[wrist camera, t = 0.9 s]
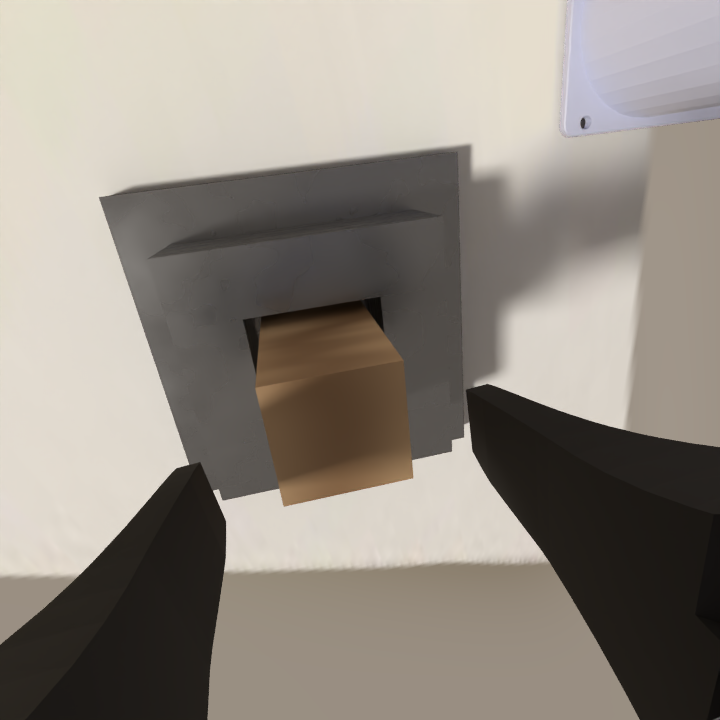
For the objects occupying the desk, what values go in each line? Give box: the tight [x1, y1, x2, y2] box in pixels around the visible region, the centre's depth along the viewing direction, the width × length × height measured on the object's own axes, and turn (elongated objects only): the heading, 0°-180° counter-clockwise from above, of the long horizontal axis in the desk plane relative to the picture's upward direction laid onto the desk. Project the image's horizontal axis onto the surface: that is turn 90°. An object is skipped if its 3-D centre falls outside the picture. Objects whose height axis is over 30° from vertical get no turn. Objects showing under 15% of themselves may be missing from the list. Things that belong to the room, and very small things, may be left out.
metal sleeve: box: [99, 152, 464, 500], centre depth 18 cm, size 14×14×5 cm
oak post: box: [255, 300, 413, 506], centre depth 16 cm, size 4×4×8 cm
